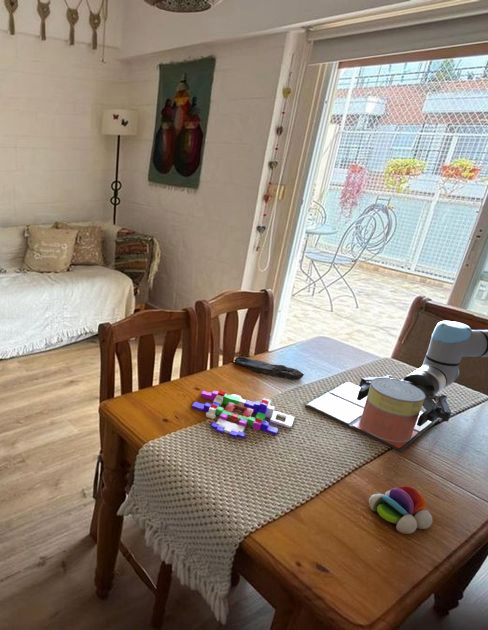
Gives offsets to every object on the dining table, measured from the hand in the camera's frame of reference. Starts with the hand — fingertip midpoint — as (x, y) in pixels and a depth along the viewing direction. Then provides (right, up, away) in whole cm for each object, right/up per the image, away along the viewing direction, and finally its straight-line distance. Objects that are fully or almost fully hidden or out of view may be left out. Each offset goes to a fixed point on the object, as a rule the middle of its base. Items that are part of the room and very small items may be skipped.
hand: (388, 407), depth 110 cm
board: (+4, -5, +12) cm, 14 cm away
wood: (-15, +4, +36) cm, 39 cm away
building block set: (-33, -5, +11) cm, 35 cm away
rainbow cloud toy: (-14, -18, -21) cm, 31 cm away
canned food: (+2, -7, +4) cm, 8 cm away
